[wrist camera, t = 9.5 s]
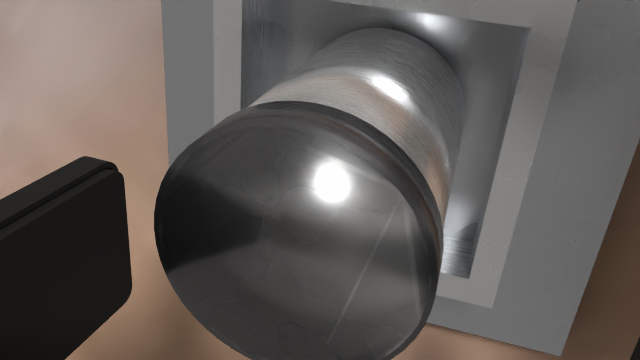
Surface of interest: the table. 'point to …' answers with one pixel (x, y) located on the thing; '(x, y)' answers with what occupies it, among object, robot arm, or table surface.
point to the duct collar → (478, 133)
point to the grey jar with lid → (320, 205)
